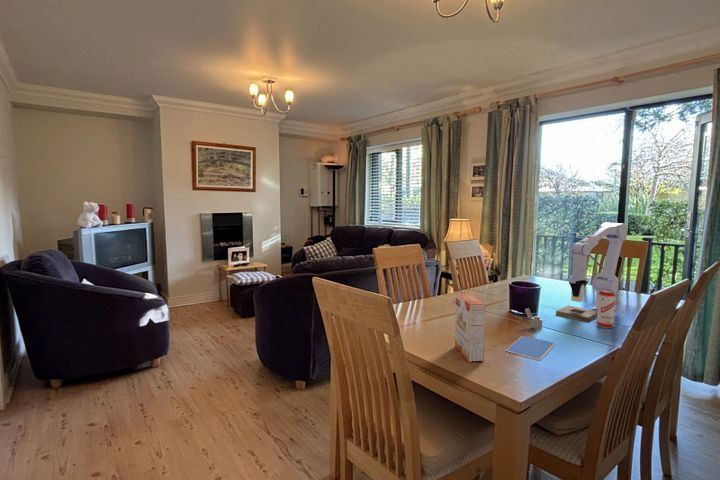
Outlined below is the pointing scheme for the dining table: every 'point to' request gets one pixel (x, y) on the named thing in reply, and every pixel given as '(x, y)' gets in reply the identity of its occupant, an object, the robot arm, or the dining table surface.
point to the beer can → (606, 308)
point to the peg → (581, 295)
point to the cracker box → (470, 327)
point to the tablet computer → (531, 347)
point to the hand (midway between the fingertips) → (577, 295)
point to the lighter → (534, 320)
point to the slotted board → (577, 313)
